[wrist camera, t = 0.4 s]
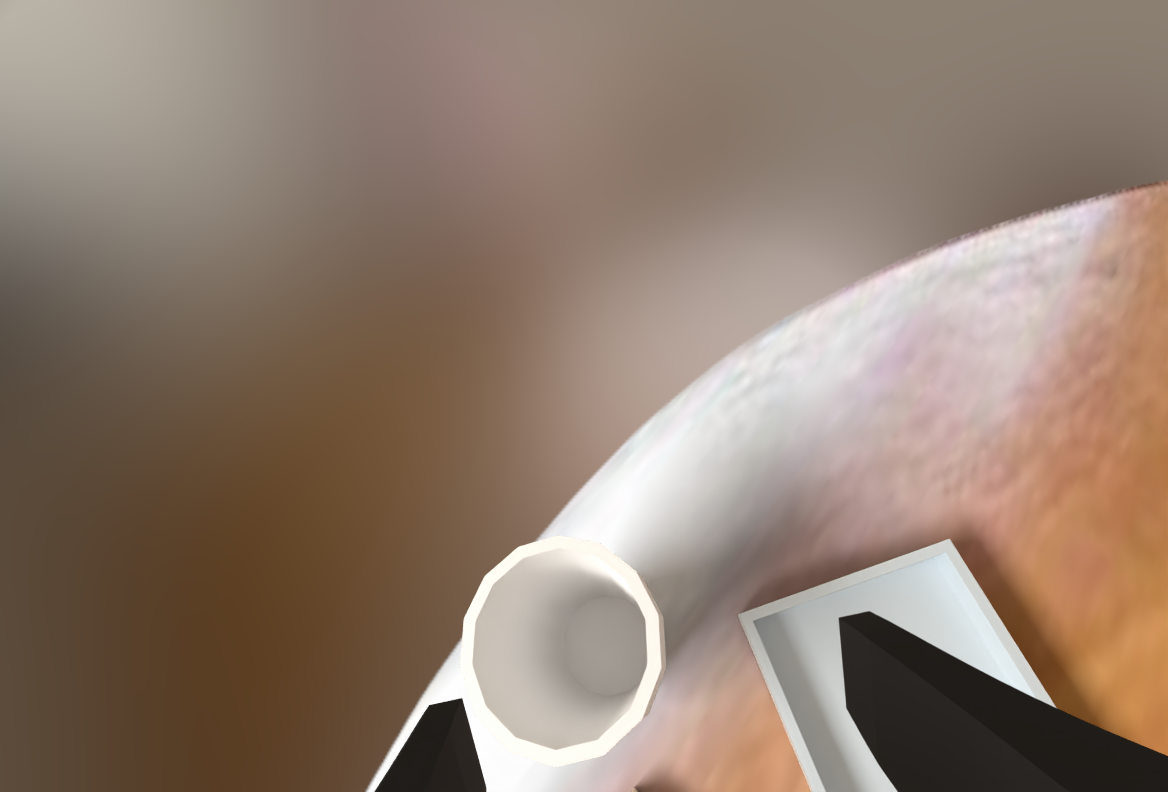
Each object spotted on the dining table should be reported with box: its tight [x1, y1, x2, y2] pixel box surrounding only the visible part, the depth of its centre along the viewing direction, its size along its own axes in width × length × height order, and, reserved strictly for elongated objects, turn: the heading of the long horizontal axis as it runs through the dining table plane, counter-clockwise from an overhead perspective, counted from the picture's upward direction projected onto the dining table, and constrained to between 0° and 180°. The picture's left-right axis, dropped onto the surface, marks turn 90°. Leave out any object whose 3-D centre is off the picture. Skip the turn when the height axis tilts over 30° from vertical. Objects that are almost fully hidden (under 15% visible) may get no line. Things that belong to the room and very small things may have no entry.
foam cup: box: [460, 535, 666, 767], centre depth 30 cm, size 10×9×13 cm
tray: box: [738, 539, 1056, 792], centre depth 30 cm, size 16×13×3 cm
